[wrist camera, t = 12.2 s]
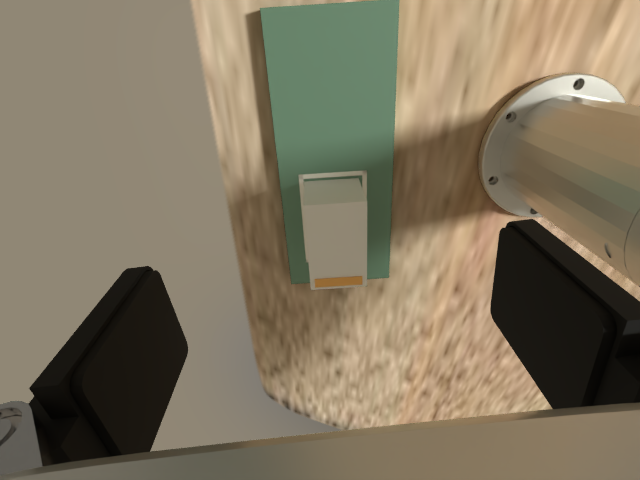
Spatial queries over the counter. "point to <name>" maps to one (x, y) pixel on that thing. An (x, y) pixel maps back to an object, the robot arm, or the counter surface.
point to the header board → (334, 112)
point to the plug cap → (336, 233)
